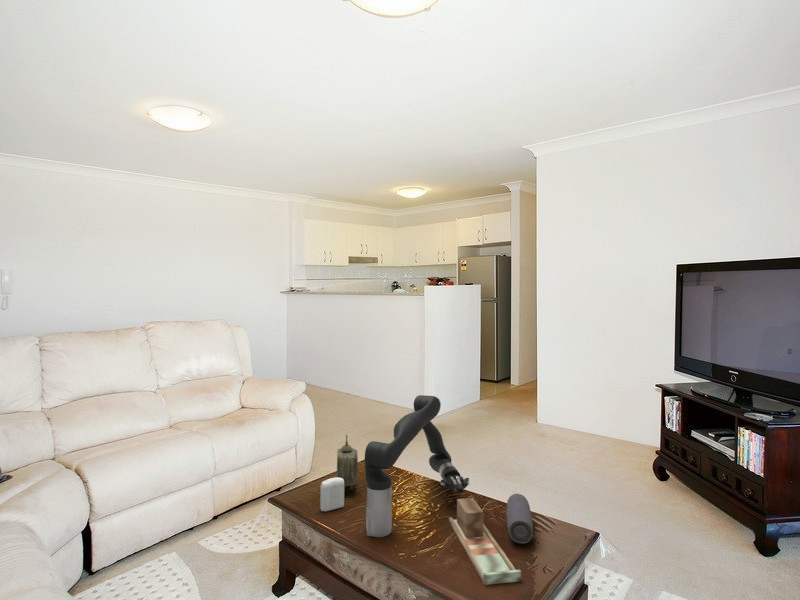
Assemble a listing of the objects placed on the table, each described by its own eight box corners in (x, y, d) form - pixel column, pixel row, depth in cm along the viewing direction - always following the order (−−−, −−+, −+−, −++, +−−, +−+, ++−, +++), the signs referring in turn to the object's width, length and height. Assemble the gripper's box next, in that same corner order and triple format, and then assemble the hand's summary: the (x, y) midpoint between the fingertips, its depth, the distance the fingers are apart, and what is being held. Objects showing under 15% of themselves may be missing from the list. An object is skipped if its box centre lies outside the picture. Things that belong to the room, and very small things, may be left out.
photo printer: (341, 503, 197) (341, 474, 197) (345, 506, 193) (345, 477, 193) (318, 509, 191) (318, 479, 191) (323, 513, 187) (323, 482, 187)
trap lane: (484, 584, 141) (484, 575, 141) (448, 520, 181) (448, 512, 181) (521, 581, 143) (521, 571, 143) (477, 518, 183) (477, 510, 183)
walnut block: (466, 537, 168) (466, 513, 168) (456, 522, 180) (456, 499, 180) (483, 536, 169) (483, 512, 169) (472, 520, 181) (472, 497, 181)
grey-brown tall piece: (337, 483, 217) (337, 430, 216) (357, 483, 218) (357, 430, 217) (336, 497, 202) (337, 440, 202) (357, 496, 203) (357, 439, 203)
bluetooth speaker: (505, 515, 186) (505, 491, 185) (529, 518, 184) (529, 493, 184) (506, 545, 163) (507, 517, 163) (534, 548, 161) (534, 520, 161)
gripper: (434, 466, 202) (445, 482, 185) (463, 464, 204) (476, 480, 187) (434, 483, 202) (445, 501, 185) (463, 481, 204) (476, 498, 187)
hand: (460, 490), depth 186 cm, fingers closed
